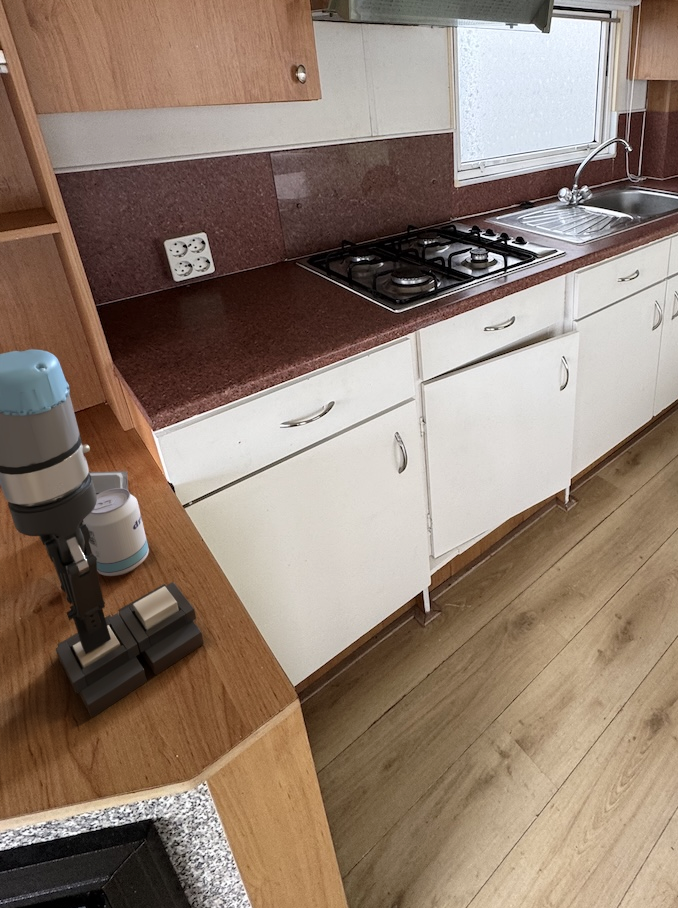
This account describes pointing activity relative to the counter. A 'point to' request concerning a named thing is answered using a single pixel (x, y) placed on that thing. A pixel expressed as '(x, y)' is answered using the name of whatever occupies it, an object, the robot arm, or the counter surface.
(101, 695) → the near key block
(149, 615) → the e key
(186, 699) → the counter surface
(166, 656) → the far key block
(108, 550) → the beverage can
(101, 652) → the c key
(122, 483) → the electrical switch
